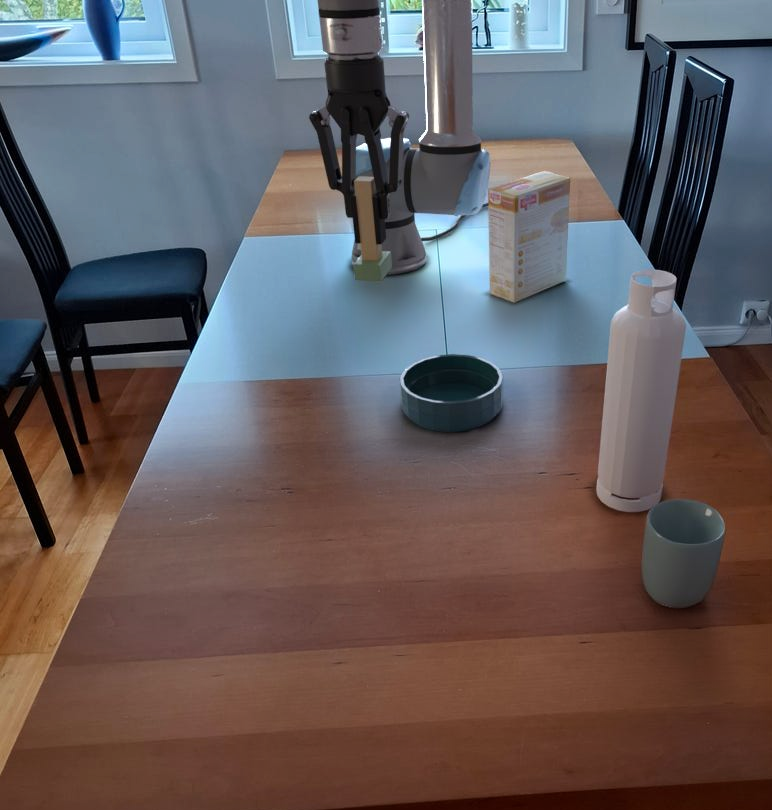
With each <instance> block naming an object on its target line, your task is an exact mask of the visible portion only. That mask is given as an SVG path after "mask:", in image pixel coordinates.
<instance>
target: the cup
mask: <svg viewBox="0 0 772 810" xmlns="http://www.w3.org/2000/svg"><path fill="white" fill-rule="evenodd" d="M725 537H726V524H725V522H724V519H723V517H722V516H721V515H720V513H719V512H718V511H717V510H716V509H715V508H713V507H712V506H710V505H708V504H706V503H705V502H701V501H699V500H695V499H688V498H687V499H686V498H675V499H674V498H673V499H667V500H663V501H659V502H658V504H656V505H655V506H653V507H652V508H650V509H649V511H648V514H647V515H646V519H645V525H644V532H643V540H642V548H641V560H640V561H641V563H640V568H641V569H640V570H641V573H640V574H641V579H642V584H643V587H644V589H645V591H646V592H648V593H647V594H648V596H649V597H650V596H651V597H652V598H653V599H652V598H651V597H650V598H651V599H652V600H653V601H654V602H656V601H657V602H656V603H657V604H659V605H660V606H664V607H665V608H669V609H687V608H690V607H693V606H695V605H698V604H699V603H700V602H702V601H703V600H704V599H705V598H706V596H707V595H708V593H709V592H710V590H711V588H712V587H713V584H714V582H715V578H716V575H717V572H718V568H719V564H720V559H721V556H722V551H723V546H724V542H725ZM660 603H661V604H660ZM662 604H664V605H662ZM665 605H667V606H665ZM692 605H693V606H692ZM669 606H671V607H669ZM687 606H689V607H687Z"/></svg>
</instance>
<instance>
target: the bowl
mask: <svg viewBox="0 0 772 810" xmlns="http://www.w3.org/2000/svg"><path fill="white" fill-rule="evenodd" d="M399 389H400V400H401V401H400V402H401V409H402V412H403V414H405V415H406V417H407V418H408V419H409V420H410V421H411V422H413V423H414V424H416V426H419V427H421V428H423V429H426V430H430V431H433V432H434V431H436V432H442V433H457V432H466V431H470V430H471V431H472V430H475V429H478V428H480V427H482V426H484V425H486V424H488V423H490V422H491V421H492V420H493V419H494V418H496V417H497V415H498V414H499V413H500V412H501V411H502V407H503V403H504V376H503V373H502V370H501V369H500V368H499V367H498V366H497V365H496V364H495V363H493V362H492V361H489V360H487V359H485V358H483V357H479V356H474V355H469V354H459V353H458V354H457V353H450V354H437V355H433V356H430V357H425V358H423V359H420V360H418V361H416V362H413V363H411V364H409V366H407V367H406V368H404V369H403V371H402V373H401V374H400V377H399Z"/></svg>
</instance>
